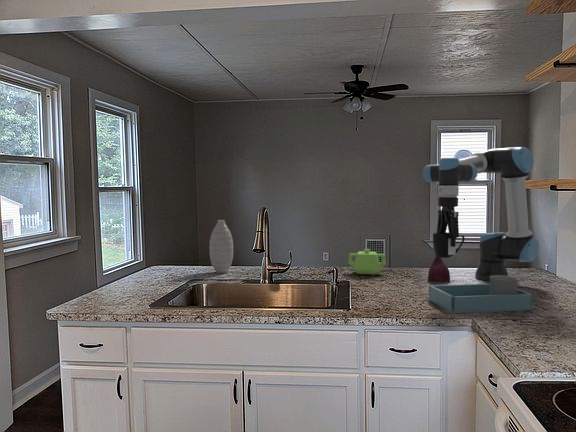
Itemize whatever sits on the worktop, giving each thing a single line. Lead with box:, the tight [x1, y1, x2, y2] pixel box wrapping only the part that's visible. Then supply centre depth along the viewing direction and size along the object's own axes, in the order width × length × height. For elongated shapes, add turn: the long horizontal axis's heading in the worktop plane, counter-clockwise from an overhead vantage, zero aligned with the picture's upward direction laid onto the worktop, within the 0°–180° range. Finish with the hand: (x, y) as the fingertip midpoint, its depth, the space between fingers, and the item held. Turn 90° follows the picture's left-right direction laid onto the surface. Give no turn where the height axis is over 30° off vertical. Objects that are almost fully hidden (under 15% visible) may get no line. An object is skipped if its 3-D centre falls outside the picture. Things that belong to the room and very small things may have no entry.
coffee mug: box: [489, 275, 519, 295], centre depth 186 cm, size 13×10×10 cm
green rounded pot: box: [347, 248, 387, 276], centre depth 253 cm, size 18×20×13 cm
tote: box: [428, 283, 534, 314], centre depth 186 cm, size 32×20×6 cm, turn 97°
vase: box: [209, 219, 234, 274], centre depth 255 cm, size 13×13×28 cm
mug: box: [432, 231, 465, 259], centre depth 190 cm, size 8×12×10 cm
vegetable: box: [427, 255, 451, 284], centre depth 231 cm, size 10×10×15 cm
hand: (446, 253), depth 191 cm, fingers closed on mug, 8 cm apart
